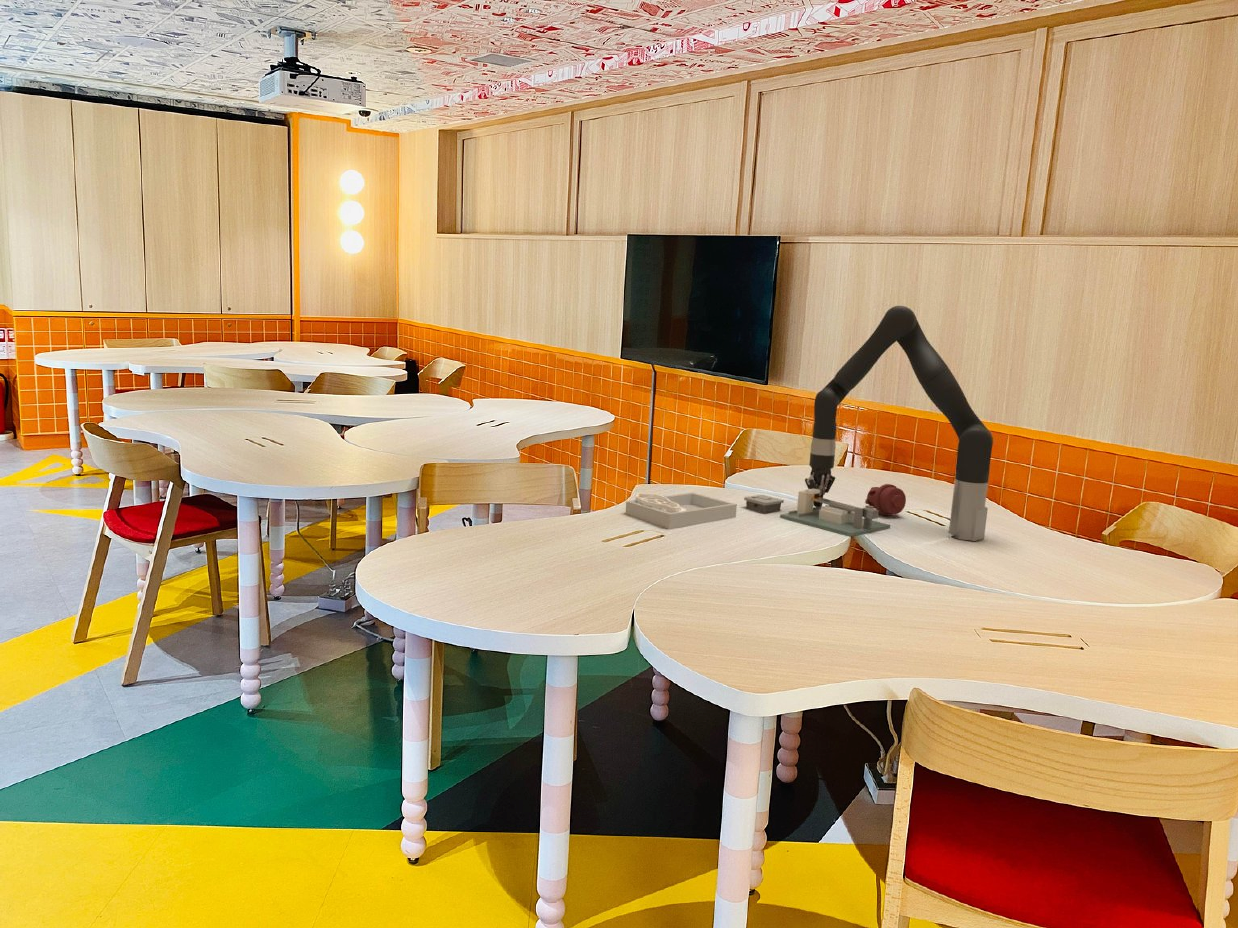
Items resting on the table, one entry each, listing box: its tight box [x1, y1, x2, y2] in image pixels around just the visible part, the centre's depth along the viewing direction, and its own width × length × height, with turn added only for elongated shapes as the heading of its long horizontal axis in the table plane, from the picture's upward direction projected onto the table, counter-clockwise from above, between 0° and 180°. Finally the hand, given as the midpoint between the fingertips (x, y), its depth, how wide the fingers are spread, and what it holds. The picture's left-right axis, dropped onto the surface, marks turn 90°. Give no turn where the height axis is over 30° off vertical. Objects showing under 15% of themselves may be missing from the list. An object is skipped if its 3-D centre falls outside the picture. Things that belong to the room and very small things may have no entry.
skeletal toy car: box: [635, 492, 686, 513], centre depth 278 cm, size 20×11×7 cm, turn 21°
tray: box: [625, 492, 738, 530], centre depth 282 cm, size 19×28×4 cm
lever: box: [812, 497, 880, 520], centre depth 282 cm, size 22×3×2 cm, turn 41°
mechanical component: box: [864, 483, 907, 516], centre depth 300 cm, size 12×10×10 cm
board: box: [779, 504, 891, 537], centre depth 284 cm, size 26×20×7 cm
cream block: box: [796, 488, 820, 514], centre depth 290 cm, size 5×4×8 cm
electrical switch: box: [743, 494, 784, 514], centre depth 297 cm, size 9×5×9 cm
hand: (817, 506), depth 295 cm, fingers closed
